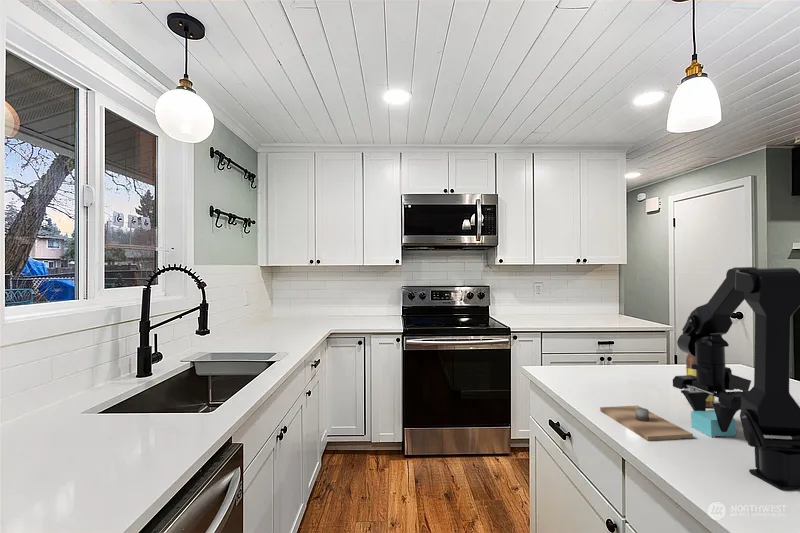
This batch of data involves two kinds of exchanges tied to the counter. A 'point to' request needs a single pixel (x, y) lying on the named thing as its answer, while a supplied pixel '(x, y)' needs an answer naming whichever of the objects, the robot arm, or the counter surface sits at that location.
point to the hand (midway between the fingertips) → (712, 426)
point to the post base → (645, 423)
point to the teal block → (710, 423)
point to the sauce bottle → (690, 371)
